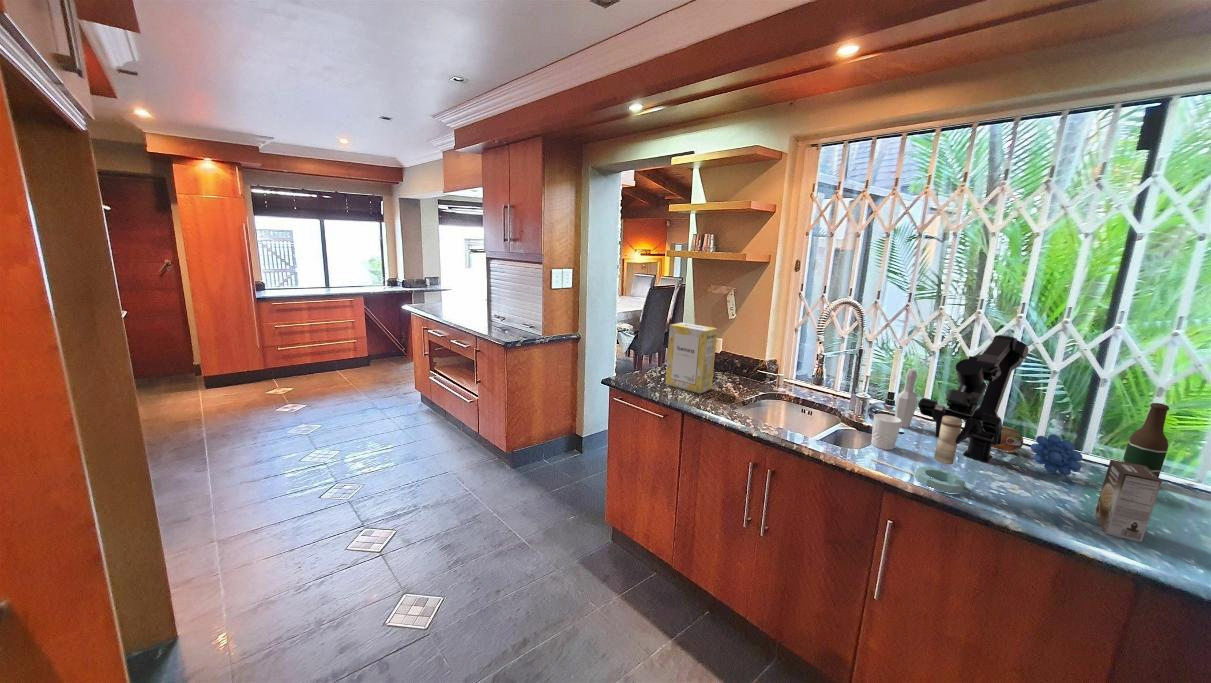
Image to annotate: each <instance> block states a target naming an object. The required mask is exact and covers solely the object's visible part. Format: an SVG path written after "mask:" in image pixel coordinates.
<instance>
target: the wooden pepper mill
mask: <svg viewBox="0 0 1211 683" xmlns="http://www.w3.org/2000/svg"><path fill="white" fill-rule="evenodd" d="M962 426H963V420H961V419H959V418H956V417H952V416H947V415H945V416H943V418H942V421H941V427H940V432H939V437H938V438H937V442H936V446H935V450H934V451H935V452H934V457H933V459H934V461H936V462H938V463H941V464H944V465H953V464H954V462H955V456H956V452H957V447H958V444H956V440H957V438H958V436H959V434H960V433H961V431H962Z"/></svg>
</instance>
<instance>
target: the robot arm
mask: <svg viewBox="0 0 1211 683" xmlns="http://www.w3.org/2000/svg"><path fill="white" fill-rule="evenodd" d="M1028 354H1029V346H1028V344H1026V343H1024V342H1022V341H1020V340H1018V338H1017V337H1014V336H1009V335H1001V334H998V335H994V337H993V339H992V342H991V343H990V344H989V345H988V346H987V347H986V349H985V350H984V351H983V352H982V353H981V354H977V355H973V356H971V355H969V357H968V358H966V359H965V358H964V359H961V360H959V361H958V362H957V363H956V364H955V371H956V376H957V380H958V381H957V382H958V383H959V386H958V388H957V390H956V389H953V388H950V389H949V390H948V392H947V395H946V398H945V401H946V406H947V407H948V408H947V407H945V406H944V405H940V404H939V402H938V400H934V399H929V398H927V397H923V398H921V399H920V400H919V401H918V403H917V405H918V408H919V412H920V414H921V415H922V416H926V417H930V418H932V420H934V421H935V438H937V439H938V437H939V432H940V427H941V421H942V418H943V416H952V417H956V418H959V419H961V420H962V421H965V422H964V426H963V428H961V430H960V434H959V436H958V438H957V440H956V444H957V445H959V444H960V443H962V442H963V441H964V440H966V439H968V437H970V440H969V439H968V445H967V449H966V450H965V451H964V452H963V453H962V455H963V456H965V457H969V458H972V459H975V460H978V461H981V462H985V463H989V462H990V460H992V458H993V456H992V455H991V451H992V449H991V447H992V444H994V445H996V444H999V445H1000V444H1001V440H1002V432H1001V430H1002V426H1003V423H1002V422H1003V421H1002V419H1001V417H1000V416H999V415H998V411H999V409H1000V406H1001V403H1002V400H1003V397H1004V394H1005V391H1006V389H1007V386H1008V383H1009V381H1010V378H1011V375H1012V372H1013V371H1014V370H1016V369H1017V368H1019V367H1020V366H1021V365H1022V363H1023V362H1024V360H1025V359H1026V358H1028ZM985 381H986V382H988V384H986V382H985ZM981 399H982V400H981ZM980 403H981V404H980ZM979 405H980V406H979ZM993 437H994V438H993Z"/></svg>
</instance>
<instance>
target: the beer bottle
mask: <svg viewBox="0 0 1211 683" xmlns="http://www.w3.org/2000/svg"><path fill="white" fill-rule="evenodd" d="M1149 407H1150V408H1149V411H1148V413H1147V416H1146V418H1145V421H1144V422H1143V425H1142V427H1140V428H1138V429H1136V430H1134V432H1133V433H1132V434H1131V435H1130V437H1129V439H1128V442H1127V444H1126V448H1125V451H1124V456H1123V457H1122V462H1127V463H1132V464H1137V465H1143V466H1147V467H1148V468H1149V469H1150V470H1151V471H1152V472H1153V473H1154V474H1155V475H1156V476H1157V477H1158V478H1160V474H1161V471H1162V468H1163V464H1164V461H1165V458H1166V456H1167V453H1168V448H1169V443H1168V438H1167V436H1166V435H1165V434H1164V426H1165V423H1166V420H1167V413H1168V411H1170V406H1169V405H1167V404H1164V403H1159V402H1152V403H1150V404H1149Z"/></svg>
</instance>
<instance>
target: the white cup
mask: <svg viewBox="0 0 1211 683" xmlns="http://www.w3.org/2000/svg"><path fill="white" fill-rule="evenodd" d="M872 420H873V421H872V428H871V429H872V430H871V441H870V443H871V445H872V446H873V447H875V448H877V449H880V450H885V451H893V450H894V449H895V446H896V443H897V439H898V438H899V437H898V436H899V433H900V432H899V431H900V428H901V427H900V425H901V419H899V418H897V417H895V415H892V414H886V413H875V414H874V415H873V419H872Z"/></svg>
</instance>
